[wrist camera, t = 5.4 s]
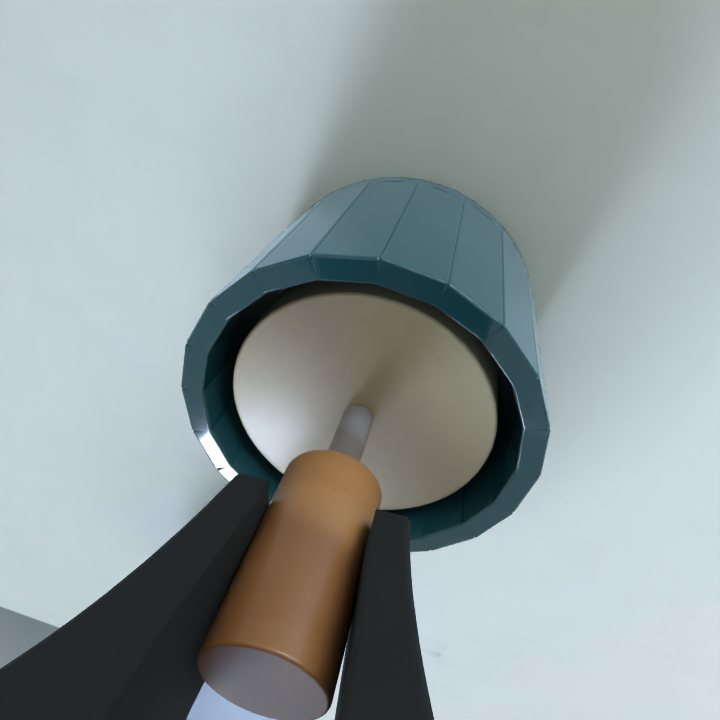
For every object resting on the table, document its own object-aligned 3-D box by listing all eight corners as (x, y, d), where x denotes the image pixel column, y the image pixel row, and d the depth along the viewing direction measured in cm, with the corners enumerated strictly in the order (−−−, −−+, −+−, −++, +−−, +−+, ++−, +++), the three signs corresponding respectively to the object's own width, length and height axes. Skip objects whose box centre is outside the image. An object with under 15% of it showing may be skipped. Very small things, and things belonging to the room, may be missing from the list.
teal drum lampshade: (371, 442, 22) (329, 581, 17) (226, 272, 19) (115, 372, 14) (581, 349, 18) (619, 497, 12) (433, 111, 15) (395, 162, 9)
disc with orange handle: (356, 478, 18) (257, 797, 11) (221, 329, 16) (-24, 596, 8) (543, 403, 15) (590, 789, 7) (405, 200, 13) (269, 454, 5)
